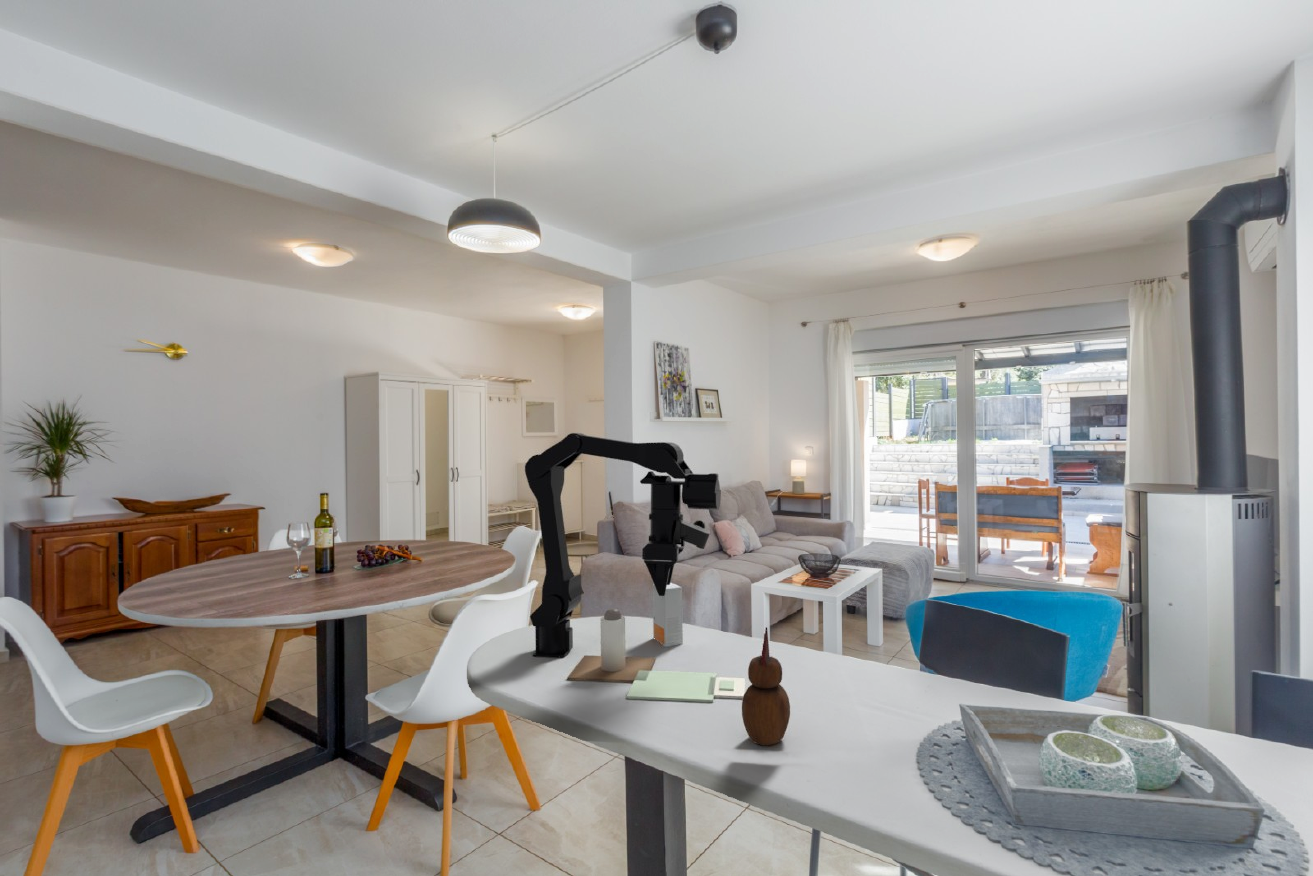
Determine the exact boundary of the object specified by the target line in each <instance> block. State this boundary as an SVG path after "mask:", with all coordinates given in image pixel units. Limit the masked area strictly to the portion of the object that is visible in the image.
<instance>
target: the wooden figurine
mask: <svg viewBox="0 0 1313 876" xmlns="http://www.w3.org/2000/svg"><path fill="white" fill-rule="evenodd" d="M764 632H765V633H763V643H762V651H761V655H759V656H755V657H753V658H751V660H750V661H749V664H748V670H747V676H748V680H749V682H750V683H751V685H749V686H748V687H747V689H745V694H744V696H743V699H742V701H741V717H742V724H743V726H744V728H745V731H746V733H747V735H748V737H749V739H750V740H751V742H753V743H755V744H757V745H761V746H772V745H776V744H777V743H779V742H780V741H782V740H783V738H784V736H785V734H786V731H787V728H788V726H789V721H790V717H791V703H790V699H789V696H788V693H787V691H786V690H785V688H784V687H783V686H782V685H781V682H782V680H783V667H782V663H781V662H780V661H779V660H778V659H777V658H776V657H773V656H771V655H770V645H769V633H768V632H769V631H768V627H767V626H766V627H765V631H764Z"/></svg>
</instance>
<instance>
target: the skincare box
mask: <svg viewBox="0 0 1313 876" xmlns="http://www.w3.org/2000/svg"><path fill="white" fill-rule="evenodd" d="M652 618H653V619H652V623H653V625H652V627H653V628H652V629H653V633H652V634H653V638H655V639H656V640H657V642H658V641H659V642H660V643H659V642H658V643H659V644H660V645H662V644H663V645H664V646H663V645H662V646H663V647H665V646H667V647H673V645H674V646H678V644H680V645H683V644H684V638H683V635H684V634H683V632H684V630H683V627H684V626H683V587H682V586H679V585H678V584H676V583H673V582H672V581H671V582H670V585H667V587H666V592H665V595H664V596H659V595H658V592H657V590H656V587H655V585H654V583H652ZM655 639H654V640H655ZM656 640H655V641H656Z"/></svg>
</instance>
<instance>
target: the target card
mask: <svg viewBox="0 0 1313 876" xmlns="http://www.w3.org/2000/svg"><path fill="white" fill-rule="evenodd" d="M710 678H711V679H712V677H710ZM713 678H714V679H716V681H715V680H714V681H715V684H714V685H715V688H714V690H713V689H712V688H713V687H714V686H713V685H712V684H713V683H712V682H714V681H713V680H710V681H712V682H711V690H710V689H709V690H708V695H714V698H716V699H717V698H719V699H721V698H722V699H737V700H738V699H740V700H741V699H742V700H743V696H744V694H745V692H746V678H744V677H720V676H719V677H718V676H717V677H713ZM712 686H713V687H712ZM709 688H710V686H709ZM710 691H711V692H710ZM712 691H713V692H714V693H712ZM709 692H710V693H711V694H710V693H709Z"/></svg>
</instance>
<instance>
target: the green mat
mask: <svg viewBox="0 0 1313 876" xmlns="http://www.w3.org/2000/svg"><path fill="white" fill-rule="evenodd" d="M643 672H645V670H643V671H642V674H641V672H640V670H639V672H638V674H637V675H638V677H636V678H639V677H640V678H642V677H643V675H644V673H643ZM648 672H649V673H648ZM640 674H641V675H642V677H641V676H640ZM717 675H718V674H717V672H697V671H695V672H693V671H668V670H666V671H665V670H651V671H647V670H646V675H644V676H646V681H645V679H644V678H642V679H643V680H644V681H643V680H641V681H640V680H639V679H637V680H636V679H635V680H634V682H633V683H632V684H631V686H630V688H629V691H628V693H627V694H626V699H630V700H631V699H633V700H649V701H651V700H652V701H670V702H671V701H673V702H674V701H675V702H695V703H696V702H697V703H714V695H708V690H709V689H710V690H711V682H712V681H710V680H713V681H714V680H715V681H716V679H714V678H713V677H718V676H717ZM647 676H648V677H647ZM710 677H712V679H711V678H710ZM715 681H714V682H712V683H713V684H712V685H713V686H714V687H713V686H712V687H713V688H712V689H713V690H714V688H715V685H714V684H715ZM709 686H710V688H709ZM710 692H711V691H710ZM710 692H709V693H710ZM712 693H714V692H713V691H712ZM710 694H711V693H710Z"/></svg>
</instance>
